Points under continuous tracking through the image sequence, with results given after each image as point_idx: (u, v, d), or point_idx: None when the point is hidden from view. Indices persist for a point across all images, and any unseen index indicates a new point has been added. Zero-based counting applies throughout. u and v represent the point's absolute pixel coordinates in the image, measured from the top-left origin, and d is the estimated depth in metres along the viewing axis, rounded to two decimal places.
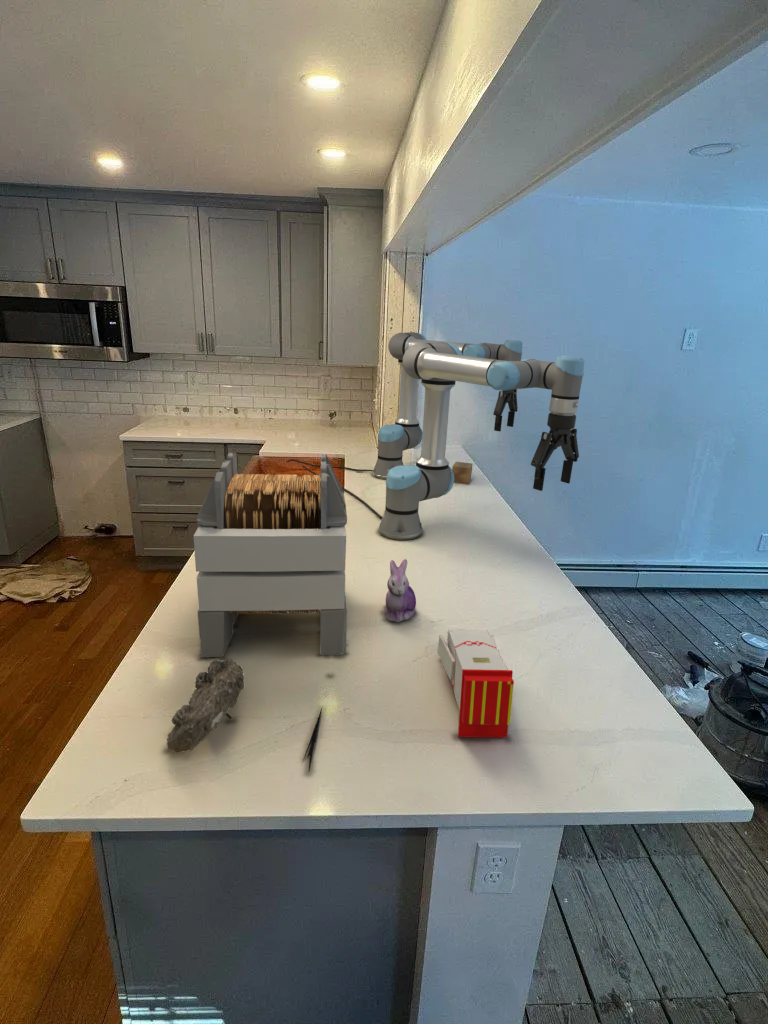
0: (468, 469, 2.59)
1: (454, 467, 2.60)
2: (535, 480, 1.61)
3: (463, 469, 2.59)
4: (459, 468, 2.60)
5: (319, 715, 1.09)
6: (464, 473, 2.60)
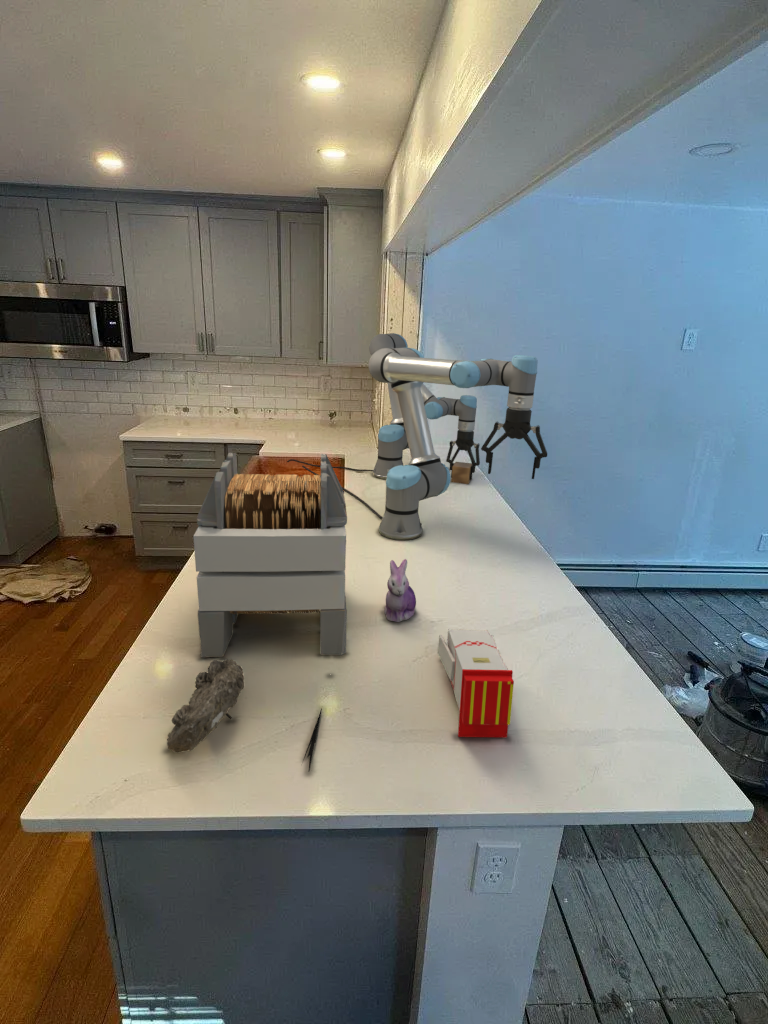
0: (468, 469, 2.59)
1: (454, 467, 2.60)
2: None
3: (463, 469, 2.59)
4: (459, 468, 2.60)
5: (319, 715, 1.09)
6: (464, 473, 2.60)
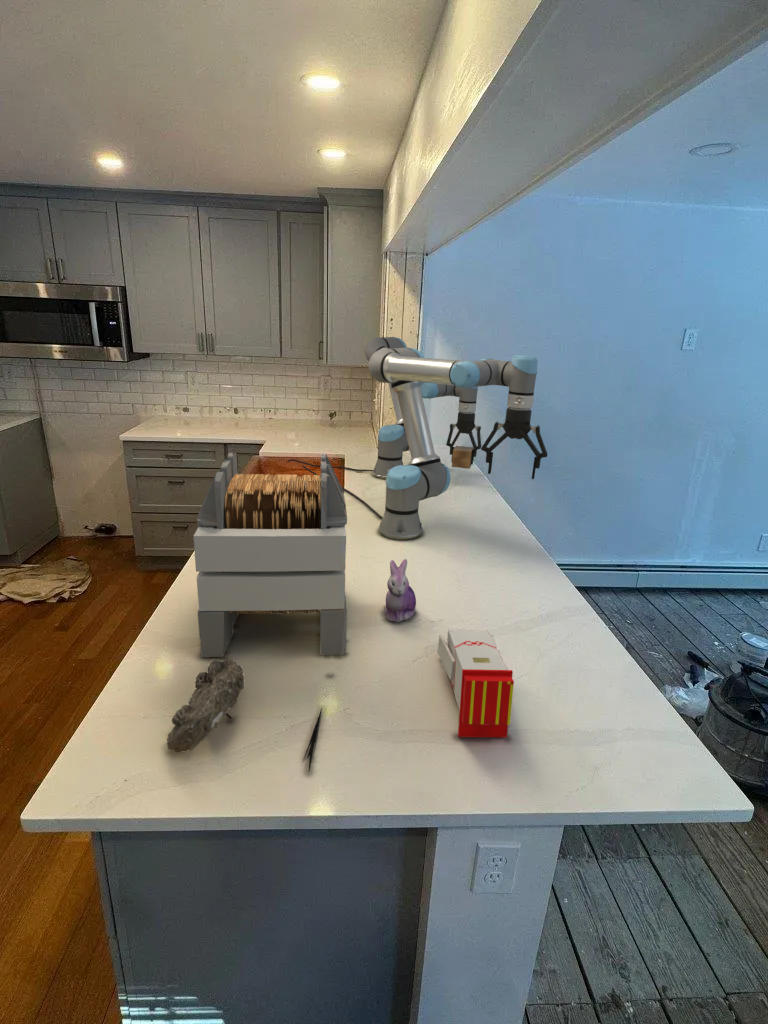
0: (469, 453, 2.48)
1: (455, 451, 2.49)
2: None
3: (464, 453, 2.49)
4: (460, 452, 2.49)
5: (319, 715, 1.09)
6: (465, 457, 2.49)
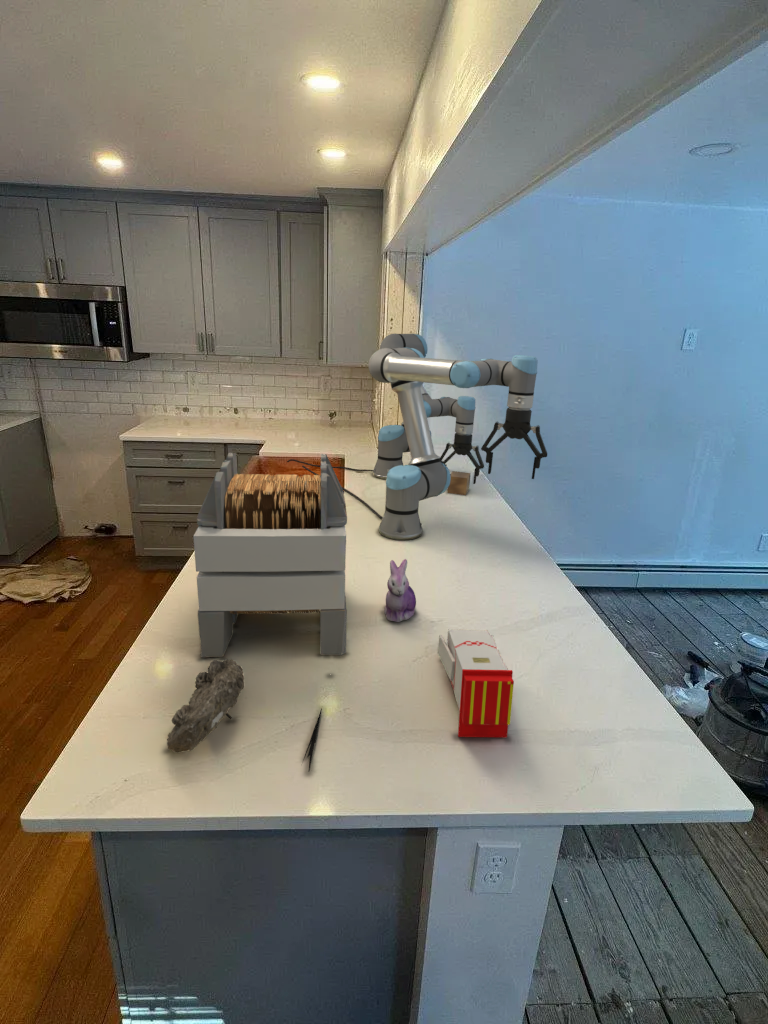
0: (465, 479, 2.43)
1: (451, 477, 2.44)
2: None
3: (460, 479, 2.43)
4: (456, 478, 2.44)
5: (319, 715, 1.09)
6: (461, 483, 2.44)
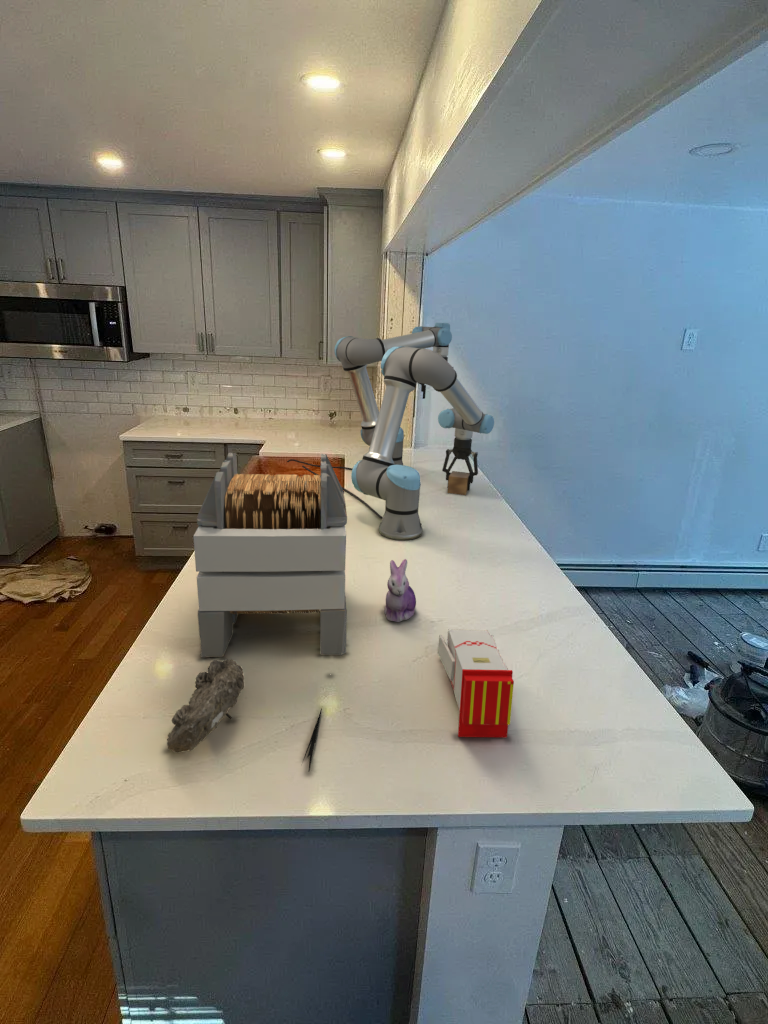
0: (465, 479, 2.43)
1: (451, 477, 2.44)
2: None
3: (460, 479, 2.43)
4: (456, 478, 2.44)
5: (319, 715, 1.09)
6: (461, 483, 2.44)
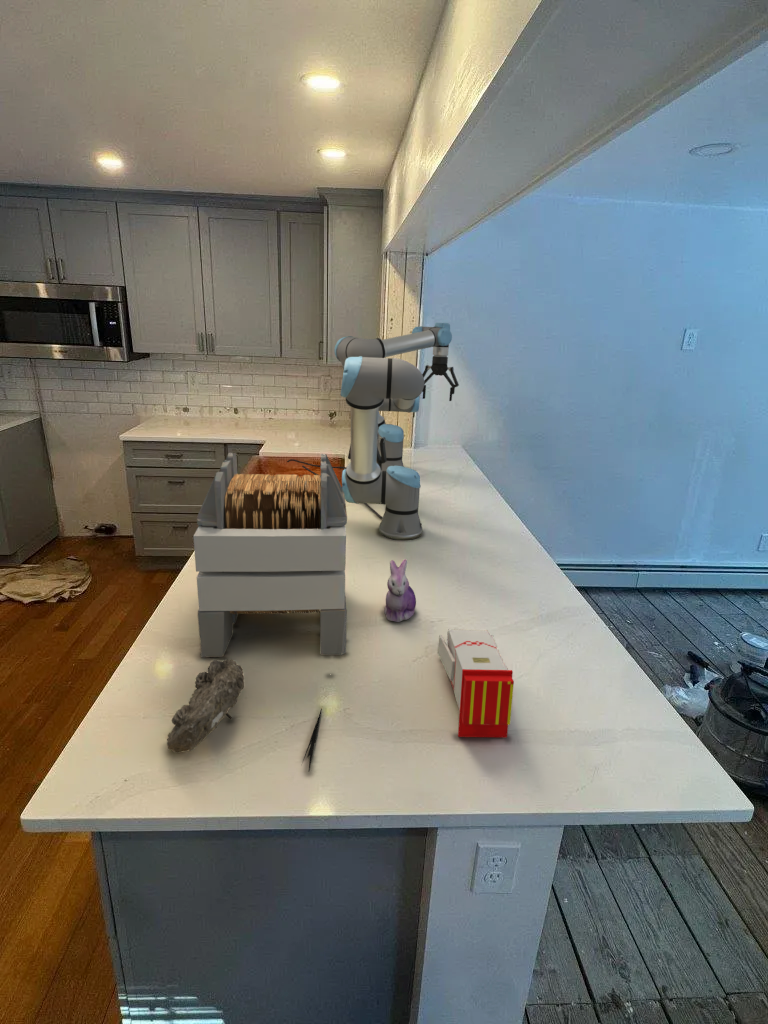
0: None
1: None
2: None
3: None
4: None
5: (319, 715, 1.09)
6: None
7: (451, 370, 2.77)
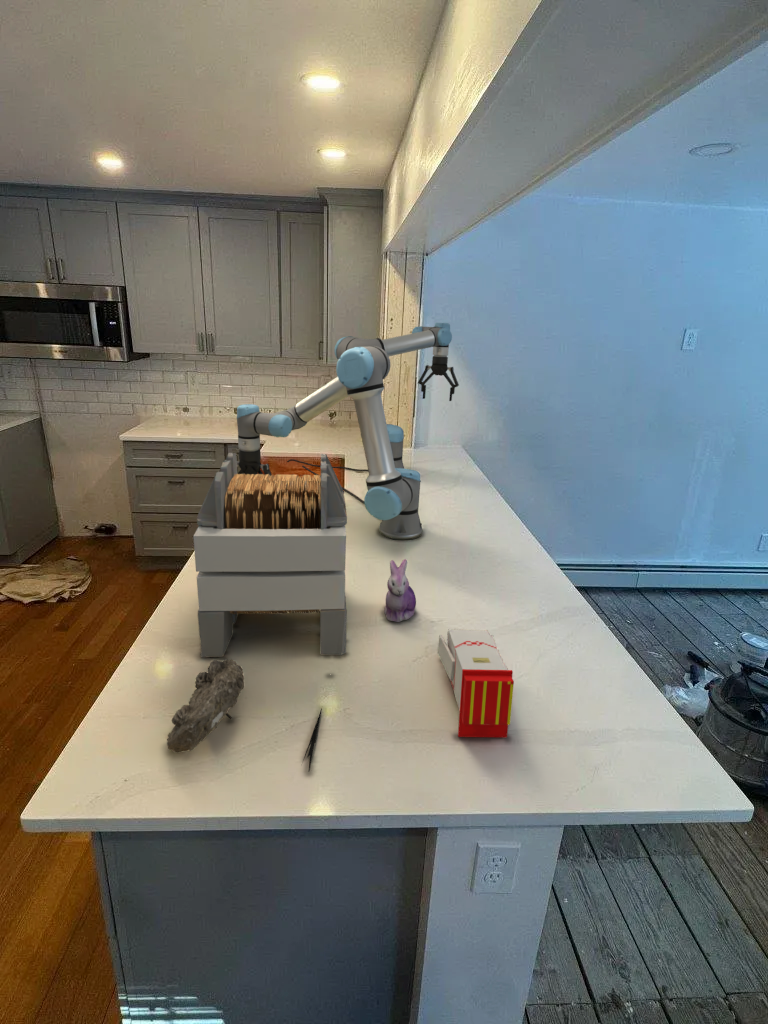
0: None
1: None
2: None
3: None
4: None
5: (319, 715, 1.09)
6: None
7: (451, 370, 2.77)
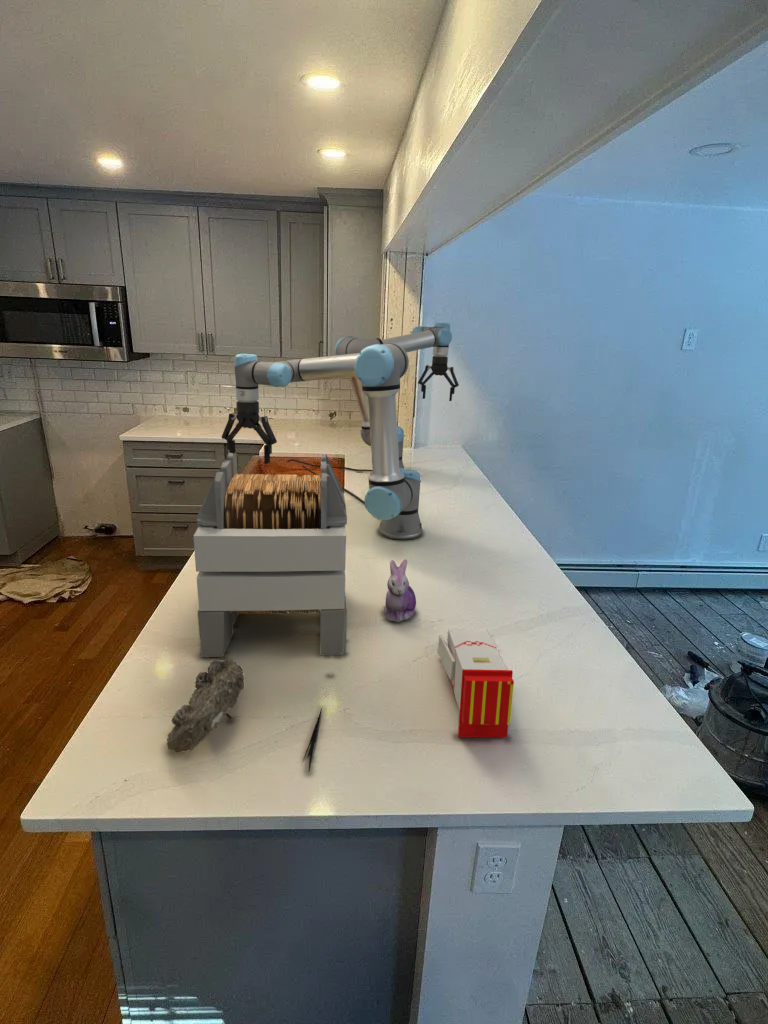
0: None
1: None
2: None
3: None
4: None
5: (319, 715, 1.09)
6: None
7: (451, 370, 2.77)
